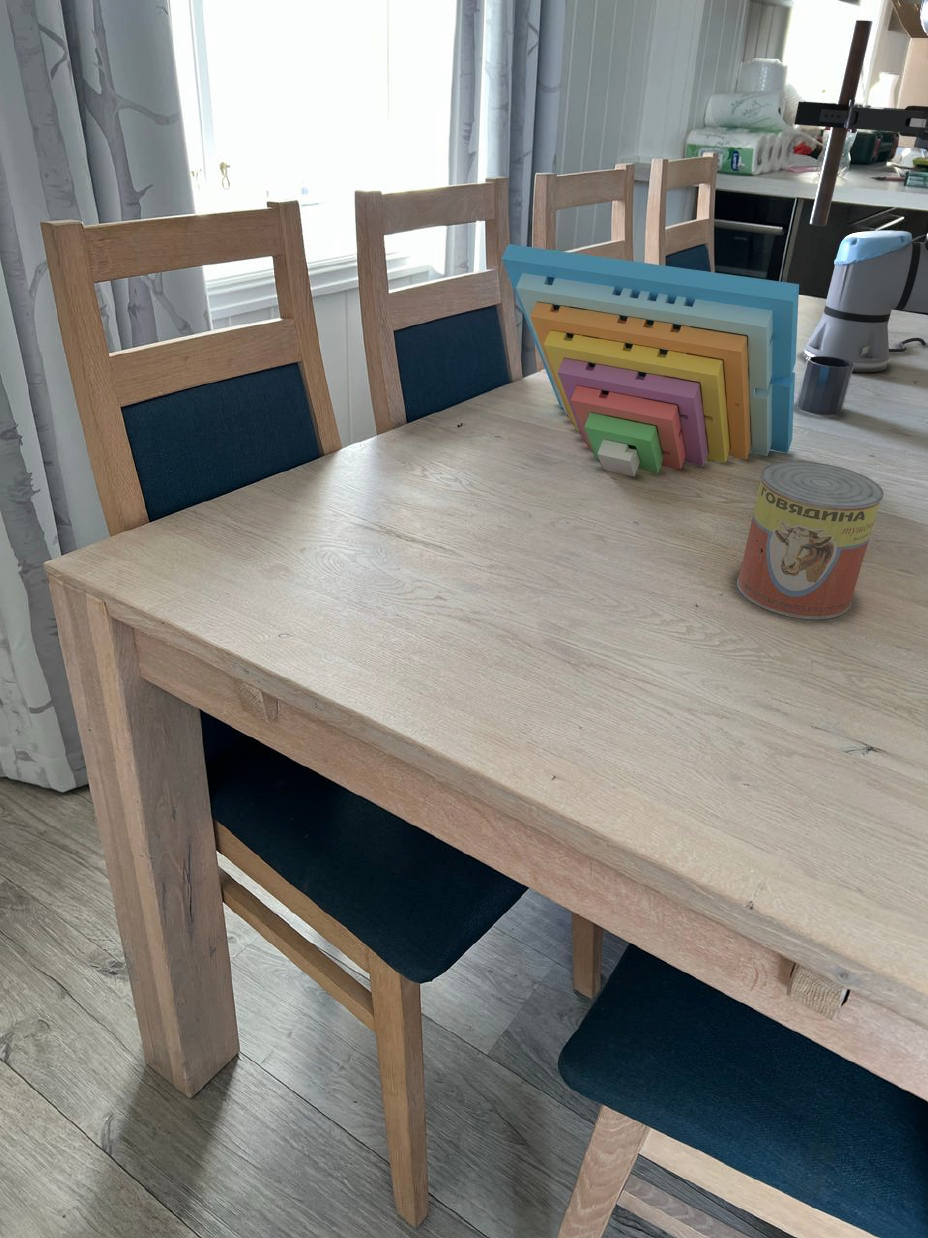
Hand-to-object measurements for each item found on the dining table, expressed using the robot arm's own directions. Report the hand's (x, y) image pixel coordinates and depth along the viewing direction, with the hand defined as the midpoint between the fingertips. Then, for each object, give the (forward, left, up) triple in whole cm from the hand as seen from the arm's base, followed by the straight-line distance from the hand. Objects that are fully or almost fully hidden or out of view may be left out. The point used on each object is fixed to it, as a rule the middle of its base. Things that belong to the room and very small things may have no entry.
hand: (800, 112), depth 126 cm
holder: (-10, +10, -42) cm, 44 cm away
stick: (0, +6, -13) cm, 14 cm away
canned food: (+56, +22, -42) cm, 73 cm away
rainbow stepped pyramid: (+26, -6, -42) cm, 49 cm away
